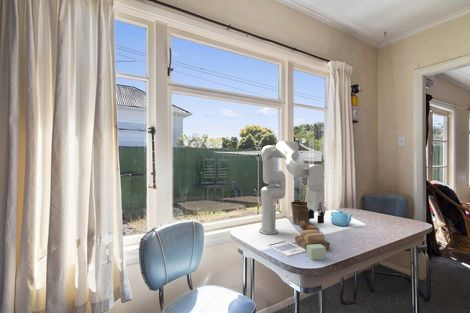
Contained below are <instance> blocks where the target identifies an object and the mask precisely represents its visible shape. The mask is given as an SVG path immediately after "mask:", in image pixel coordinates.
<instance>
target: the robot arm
mask: <svg viewBox="0 0 470 313" xmlns="http://www.w3.org/2000/svg"><path fill="white" fill-rule="evenodd" d="M299 149H300V148H299V144H298V143H297V142H296V141H293V140H280V141H278V142H277V143H276V145H275V144H273V145H272V144H270V145H269V144H268V145H265V146H264V147H263V148H262V149H261V160H262V180H263V183H264V184H265V185H266V186H263V187H261V189H260V197H261V227H260V228H259V232H260V234H264V235H276V234H278V233H279V230H278V229H276V225H277V224H276V222H277V221H276V219H277V218H276V216H277V213H276V210H277V208H276V203H275V202H274V200H282V199H284V198H285V196H286V181H287V180H286V174H285V172H284V171H282V170H278V169H276V163H275V161H274V159H284V160H285V169H286V170H287V171H288V172H289V173H290V174H291V175H292V176H293V177H295V178H308V180H307V182H308V183H307V184H308V191H307V198H306V199H307V201H306V202H307V207H308V218H309V219H310V220H311V219H313V220H314V219H315V212H317V224H318V225H321V224H325V214H326V210H327V209H326V207H325V195H324V189H325V188H324V182H325V181H324V176H325V175H324V174H325V173H324V172H325V169H324V165H323V164H320V163H319V164H318V163H317V164H316V163H307V162H306V163H304V162H303V163H300V162H299V163H297V160H298V159H299V156H300V153H299Z"/></svg>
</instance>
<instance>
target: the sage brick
mask: <svg viewBox="0 0 470 313" xmlns="http://www.w3.org/2000/svg"><path fill="white" fill-rule="evenodd" d="M326 251H327V250H326V247H324V246H323V245H321V244H313V245H307V251H306V257H307V258H308V259H309V260H311V261H315V260H316V261H317V260H318V261H319V260H325V259H326Z"/></svg>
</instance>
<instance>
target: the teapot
mask: <svg viewBox="0 0 470 313" xmlns="http://www.w3.org/2000/svg"><path fill="white" fill-rule="evenodd" d="M330 215H331V217H330V222H331V223H332V225H334V224H335V225H336V226H338V225H339V226H338V227H346V226H345V225H347V226H349V225H350V223H351V221H352V216H353V215H354V214H353V213H350V214H348V213H347V212H345V211H343V210H338V211H332V212H331V213H330Z"/></svg>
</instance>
